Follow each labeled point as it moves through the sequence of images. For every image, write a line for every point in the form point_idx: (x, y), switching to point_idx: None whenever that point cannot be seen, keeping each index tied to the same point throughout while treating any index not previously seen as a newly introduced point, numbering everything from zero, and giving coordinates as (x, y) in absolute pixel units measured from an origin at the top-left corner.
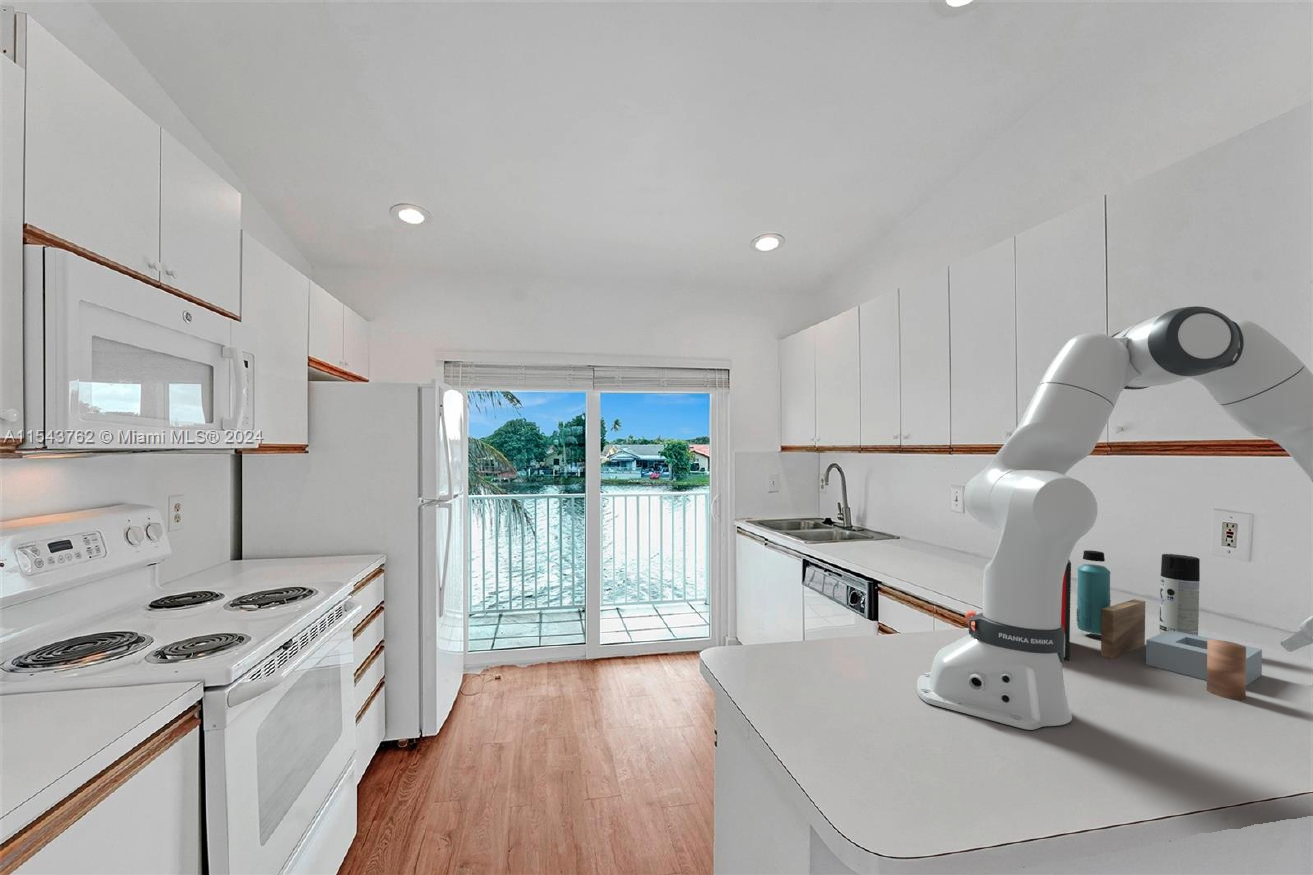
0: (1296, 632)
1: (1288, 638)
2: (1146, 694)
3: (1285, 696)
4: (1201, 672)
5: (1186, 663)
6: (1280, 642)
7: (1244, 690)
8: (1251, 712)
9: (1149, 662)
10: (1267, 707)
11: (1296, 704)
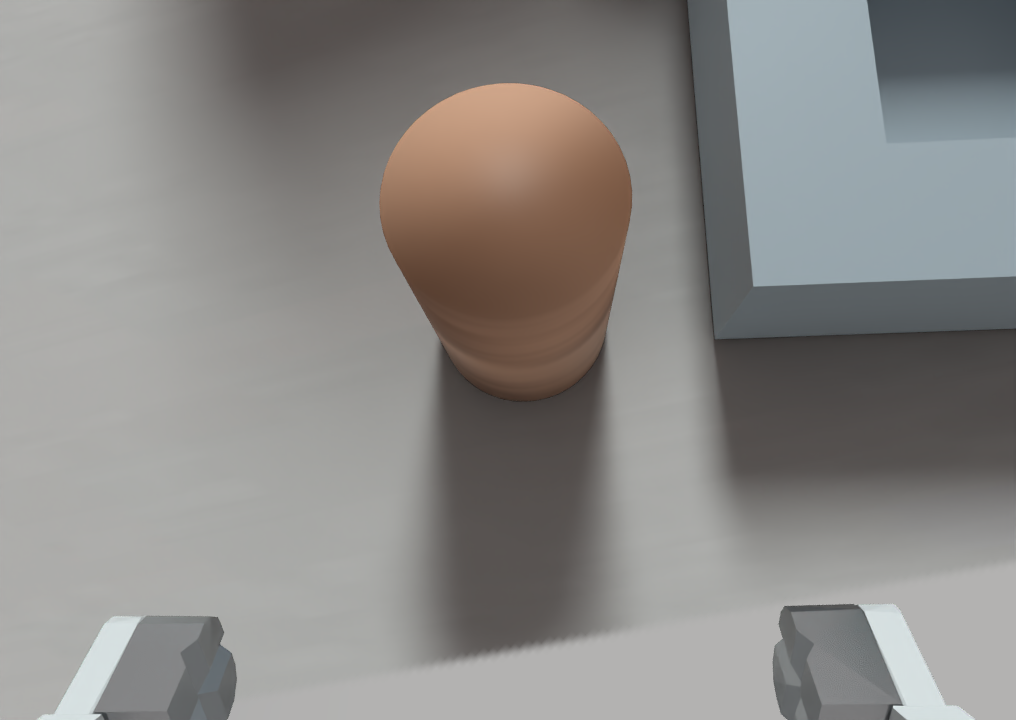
0: (796, 632)
1: (68, 698)
2: (129, 117)
3: (858, 507)
4: (707, 147)
5: (709, 61)
6: (108, 620)
7: (506, 389)
8: (318, 474)
9: None
10: (503, 500)
11: (741, 579)
